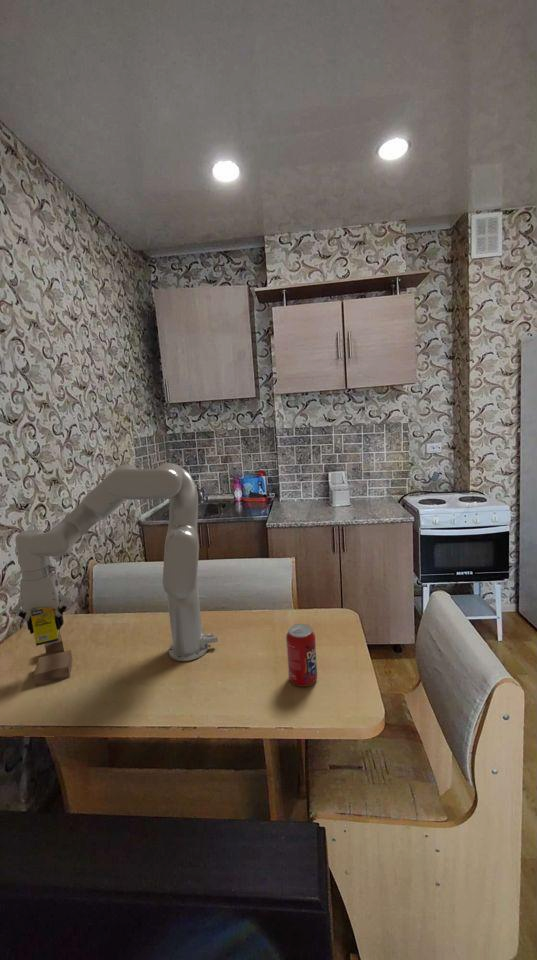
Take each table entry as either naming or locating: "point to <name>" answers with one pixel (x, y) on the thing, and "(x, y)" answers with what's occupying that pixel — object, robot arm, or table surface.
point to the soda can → (301, 655)
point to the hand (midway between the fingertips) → (46, 628)
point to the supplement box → (44, 625)
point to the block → (54, 646)
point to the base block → (53, 668)
